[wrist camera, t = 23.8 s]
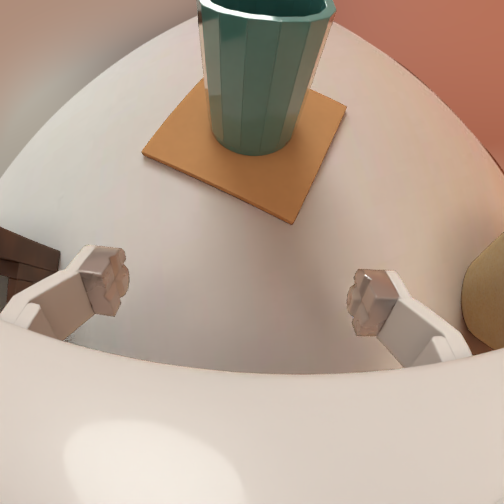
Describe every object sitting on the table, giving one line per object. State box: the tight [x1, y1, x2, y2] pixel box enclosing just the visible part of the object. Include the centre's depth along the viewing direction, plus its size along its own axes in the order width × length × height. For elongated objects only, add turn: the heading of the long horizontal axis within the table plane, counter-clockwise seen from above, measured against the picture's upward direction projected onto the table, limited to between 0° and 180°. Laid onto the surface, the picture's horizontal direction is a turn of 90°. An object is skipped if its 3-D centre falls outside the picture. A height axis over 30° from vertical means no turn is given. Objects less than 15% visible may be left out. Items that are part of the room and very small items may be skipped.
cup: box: [197, 0, 336, 156], centre depth 14 cm, size 6×6×11 cm
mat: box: [142, 77, 347, 225], centre depth 19 cm, size 12×12×1 cm
